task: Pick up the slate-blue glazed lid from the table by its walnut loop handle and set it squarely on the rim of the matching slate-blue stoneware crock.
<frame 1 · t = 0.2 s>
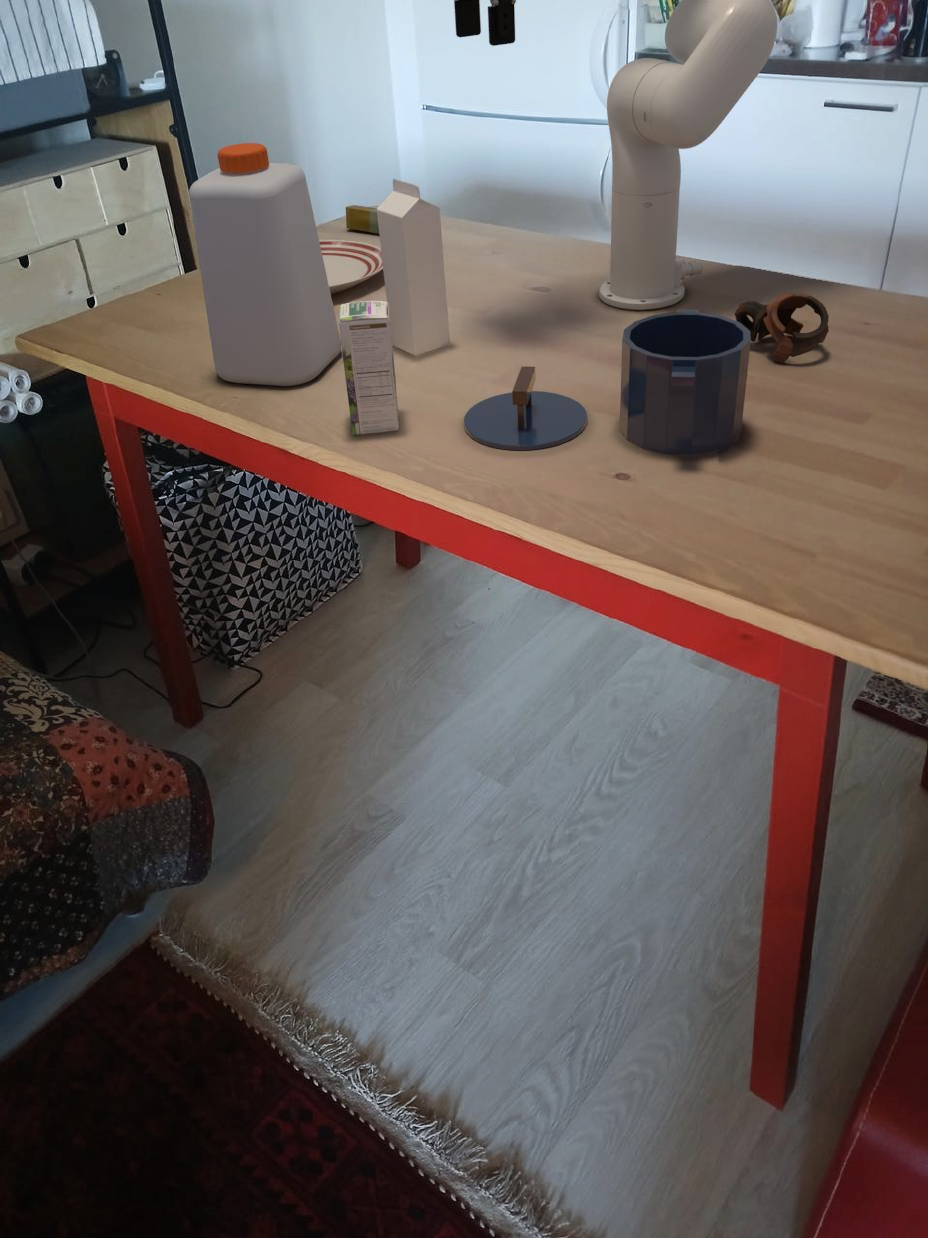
hand: (485, 39, 125), 37 cm above the table, tool pointing down, fingers open, 9 cm apart
milk: (421, 348, 143), on the table
medication box: (376, 233, 189), on the table
crock: (679, 430, 118), on the table
rusty metal shackles: (777, 350, 135), on the table
dinner plate: (308, 282, 170), on the table
lid: (525, 421, 121), point 1 cm above the table
syrup box: (377, 427, 124), on the table
plastic bottle: (281, 366, 142), on the table
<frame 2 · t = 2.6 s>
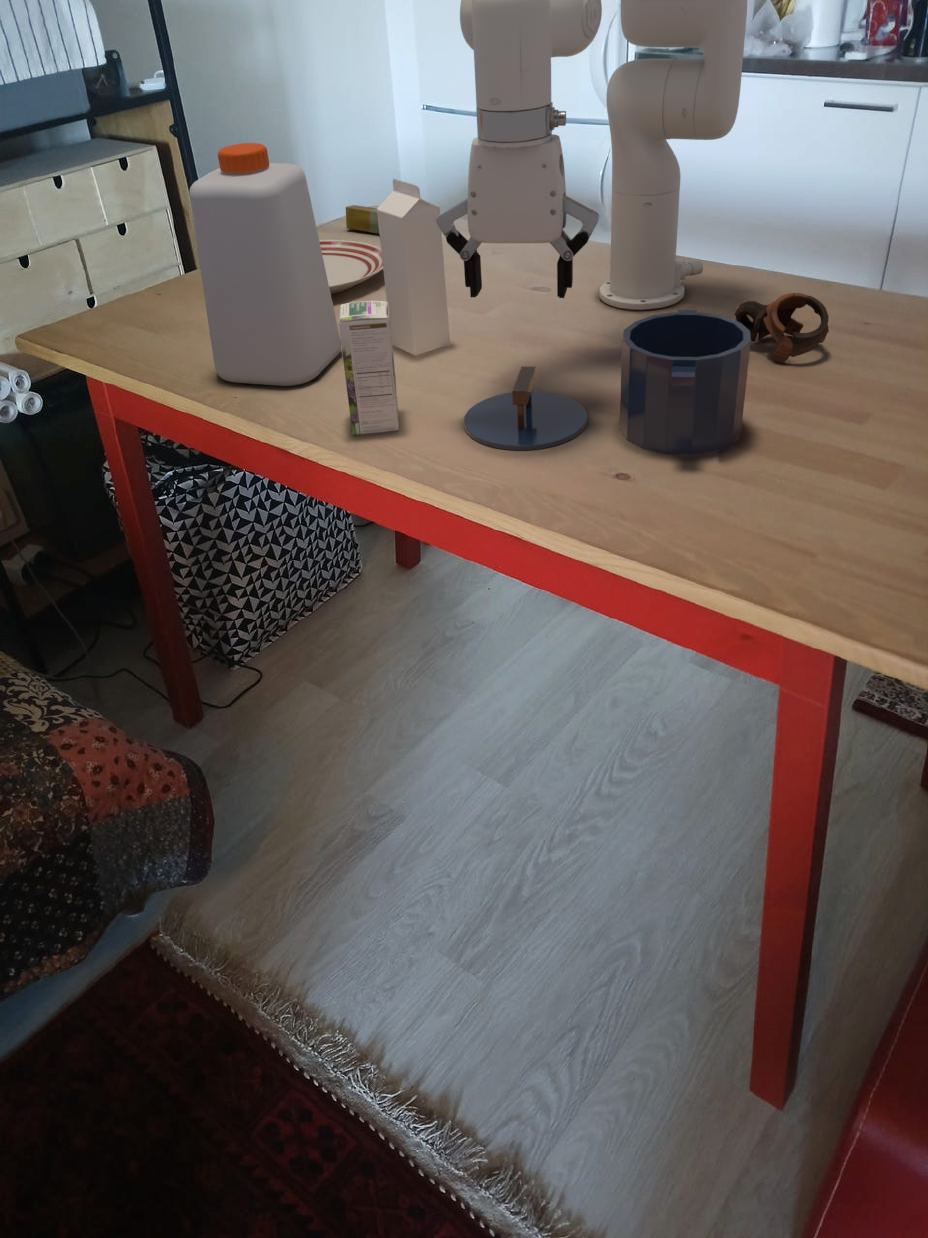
hand: (518, 293, 113), 16 cm above the table, tool pointing down, fingers open, 9 cm apart
nothing on the table moved.
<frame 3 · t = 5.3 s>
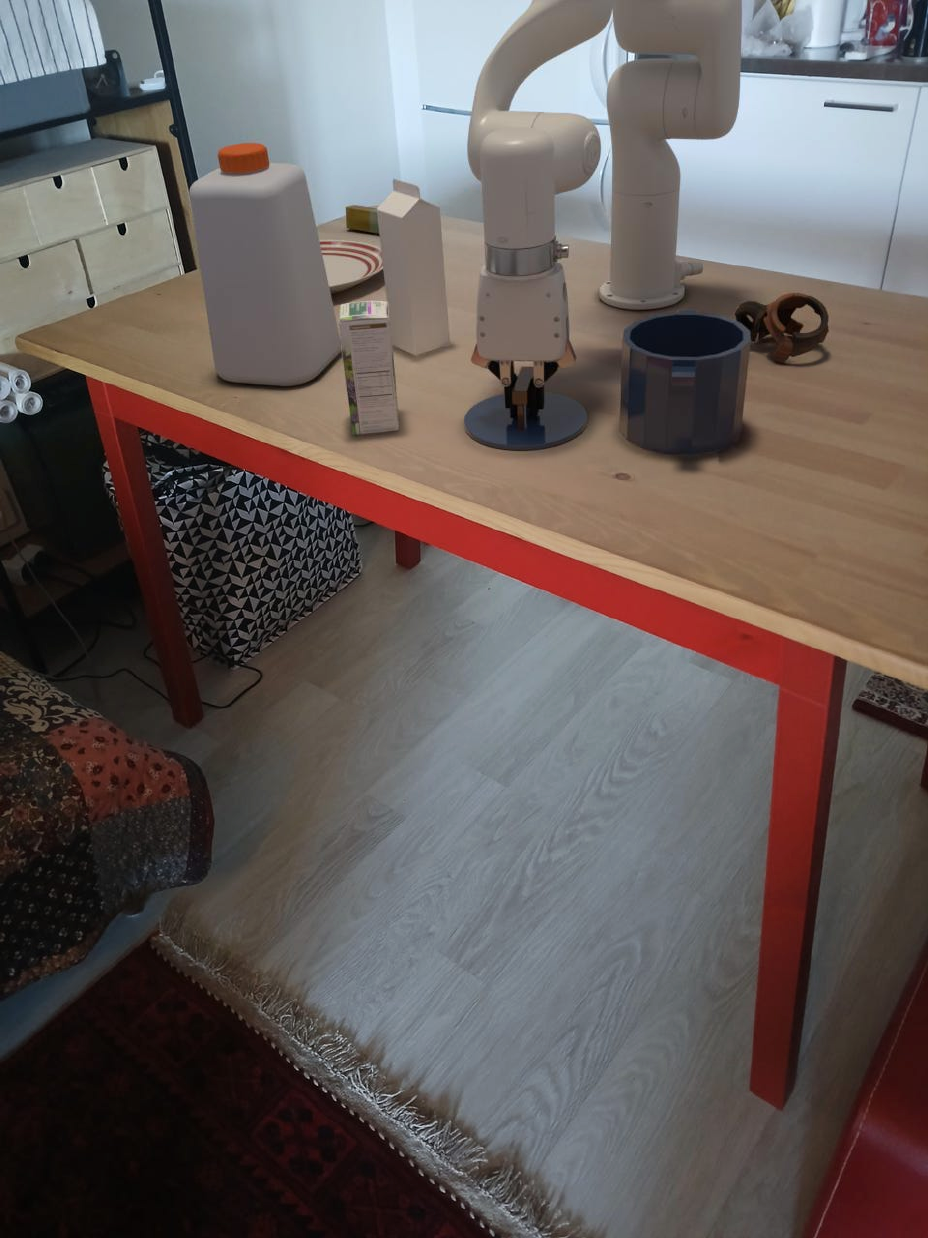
hand: (525, 412, 121), 2 cm above the table, tool pointing down, fingers closed on lid
lid: (525, 421, 121), point 1 cm above the table, touching gripper
everything else where it was.
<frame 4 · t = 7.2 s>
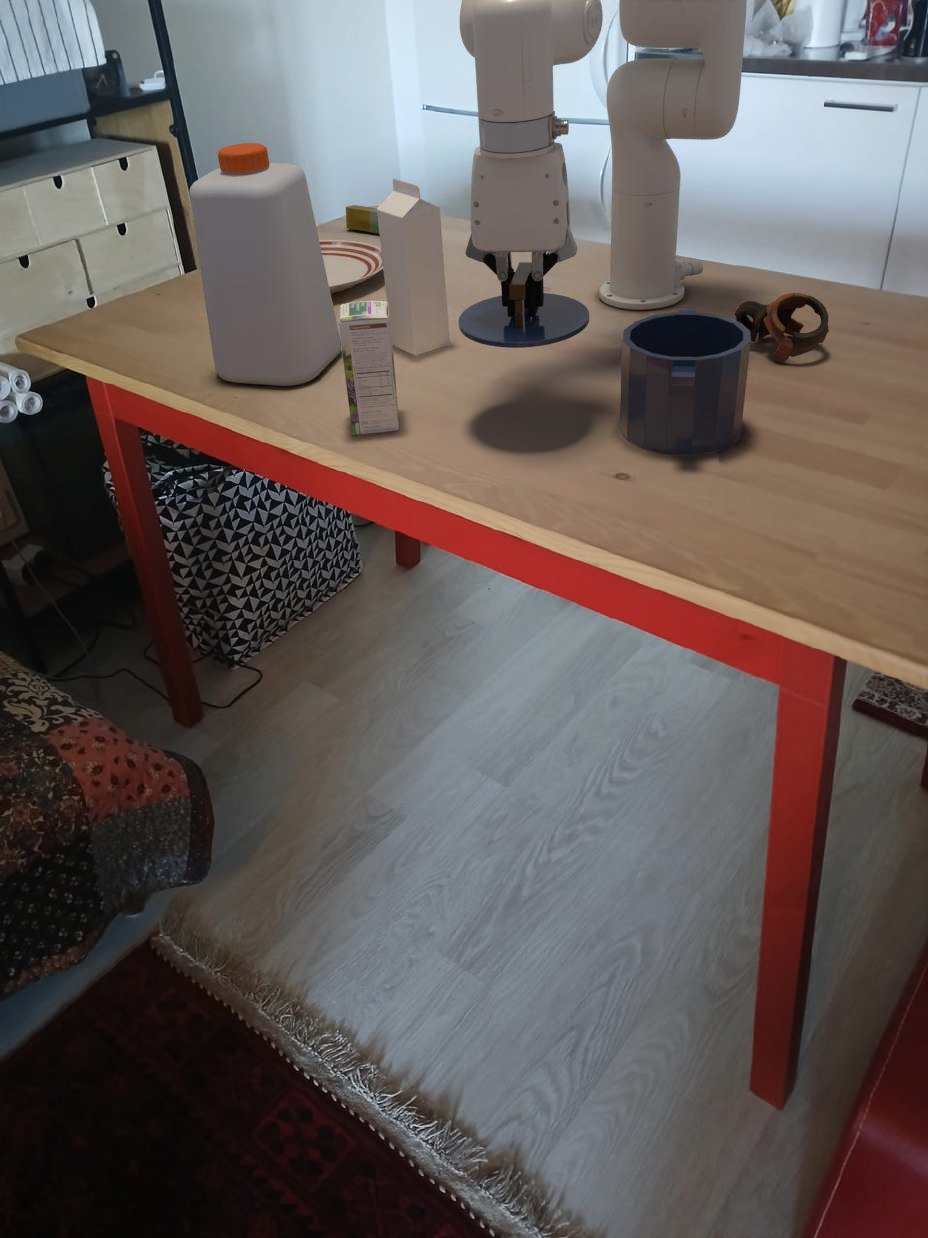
hand: (523, 311, 114), 14 cm above the table, tool pointing down, fingers closed on lid
lid: (523, 321, 114), point 13 cm above the table, touching gripper
everything else where it was.
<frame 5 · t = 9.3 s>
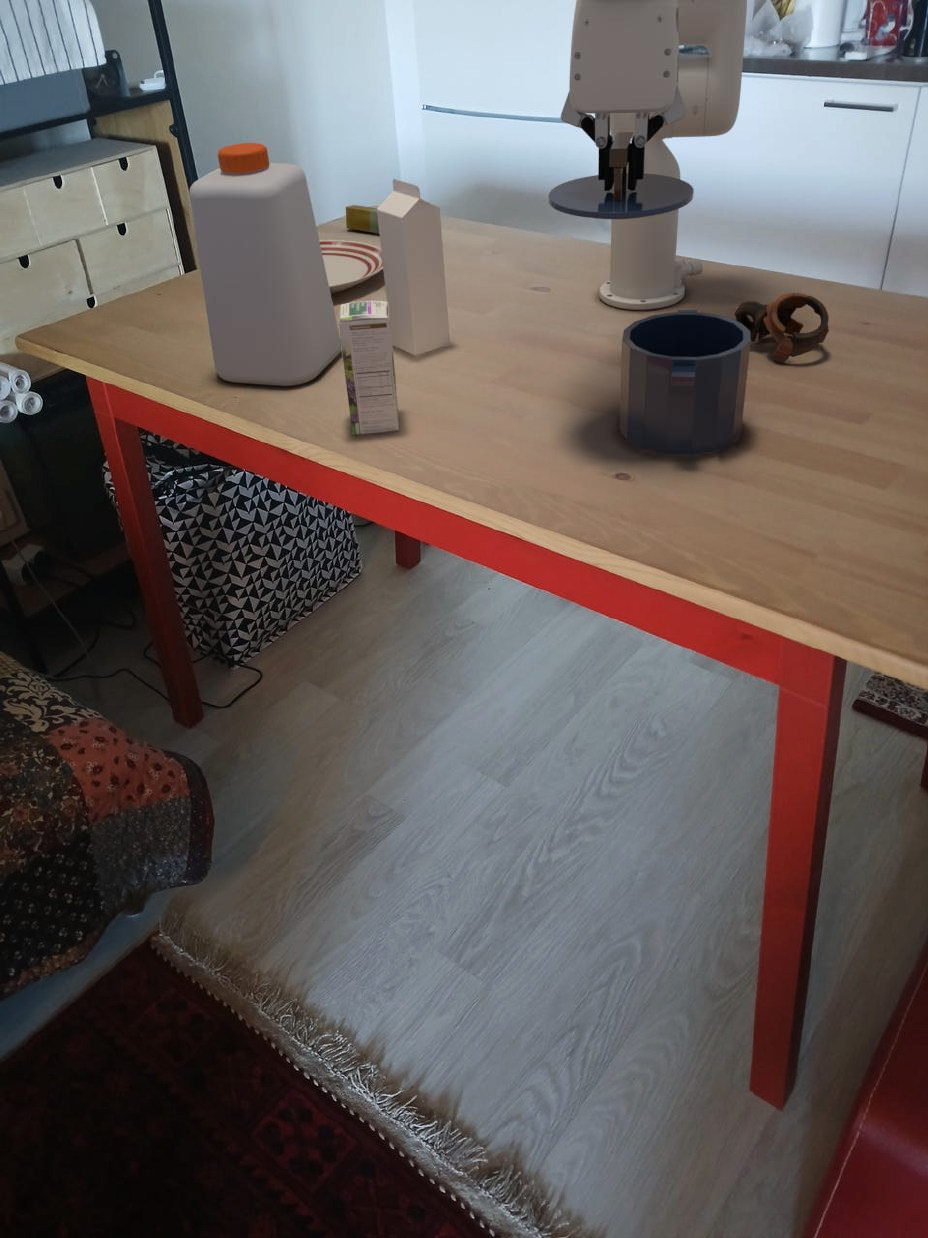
hand: (620, 185, 104), 27 cm above the table, tool pointing down, fingers closed on lid
lid: (620, 197, 104), point 26 cm above the table, touching gripper
everything else where it was.
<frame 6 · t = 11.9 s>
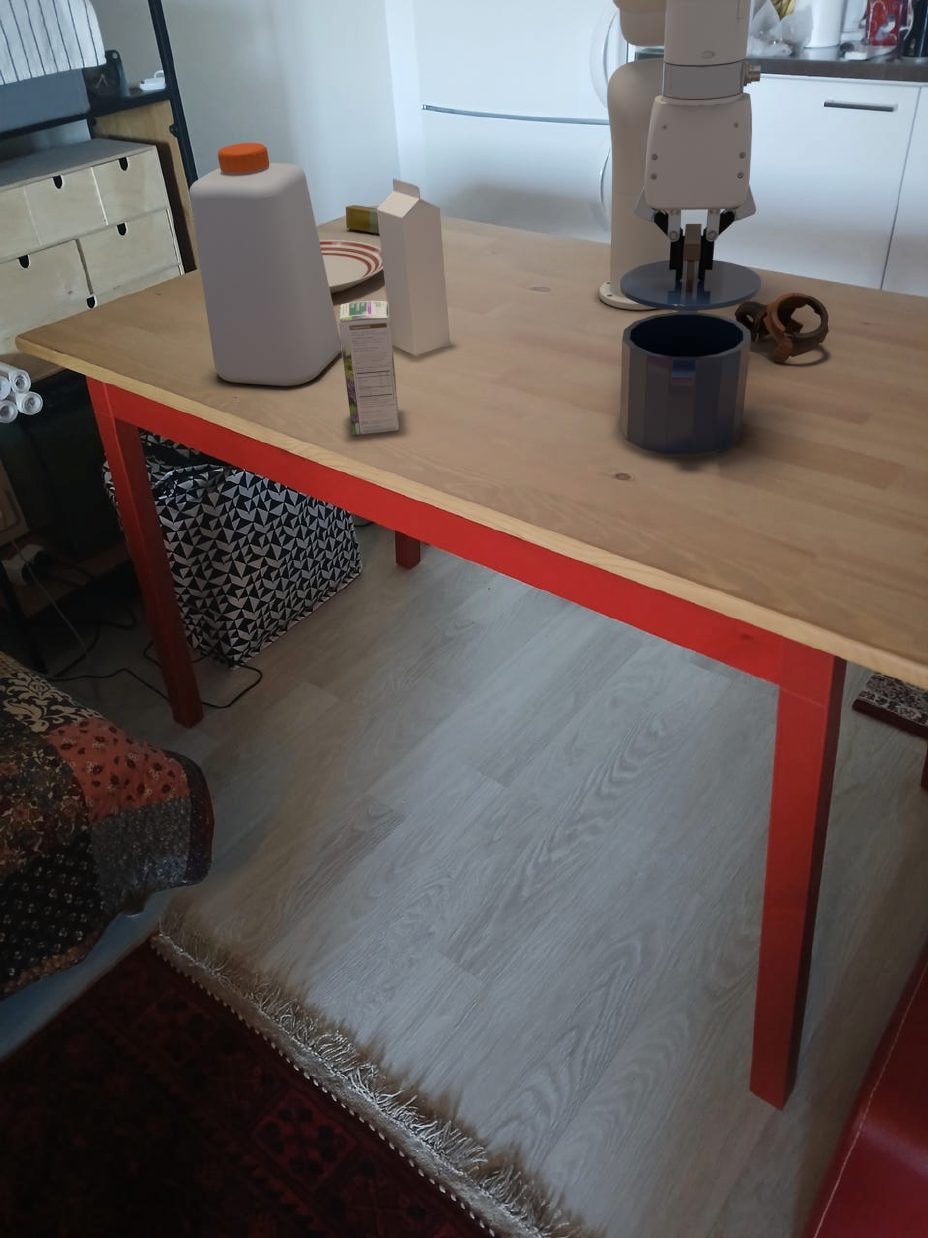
hand: (690, 275, 107), 18 cm above the table, tool pointing down, fingers closed on lid
lid: (689, 286, 108), point 17 cm above the table, touching gripper
everything else where it was.
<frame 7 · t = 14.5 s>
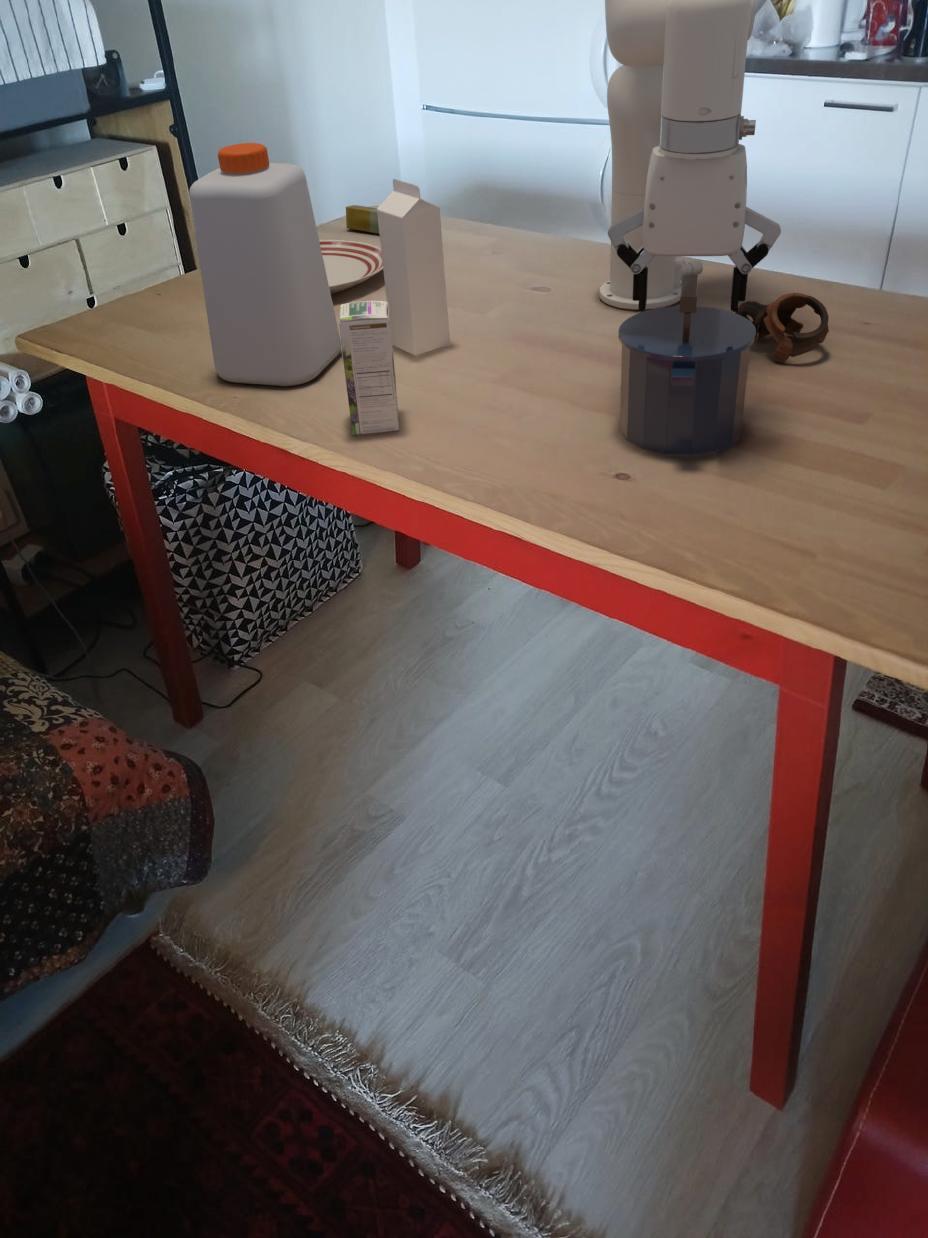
hand: (687, 306, 110), 15 cm above the table, tool pointing down, fingers open, 9 cm apart
lid: (686, 334, 111), point 11 cm above the table, touching crock
everything else where it was.
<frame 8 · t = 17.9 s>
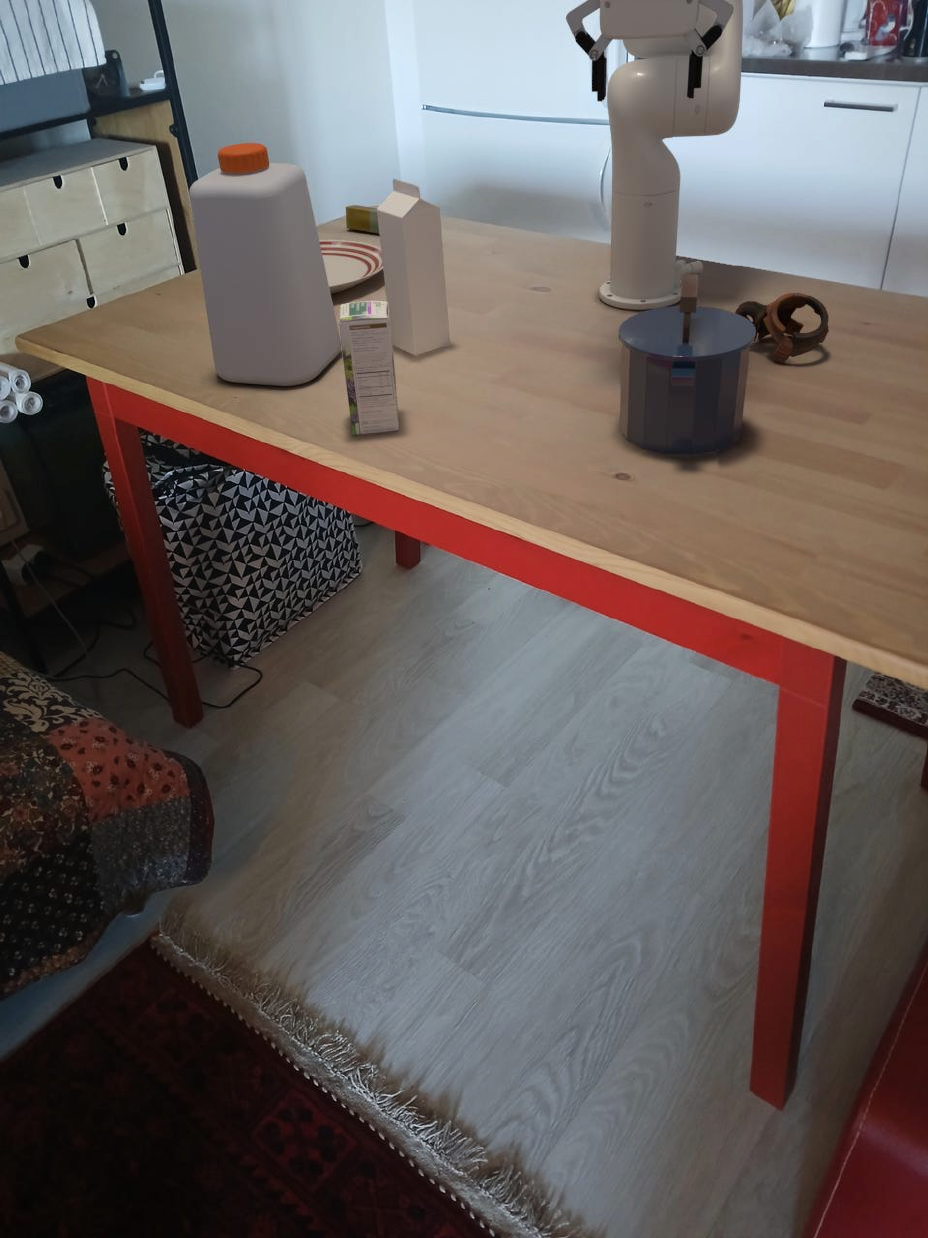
hand: (645, 97, 112), 32 cm above the table, tool pointing down, fingers open, 9 cm apart
nothing on the table moved.
at the end: lid 0.1 cm off-centre on the crock, point 11.5 cm above the crock's base; lid tilted 0°; the gripper is holding nothing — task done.
